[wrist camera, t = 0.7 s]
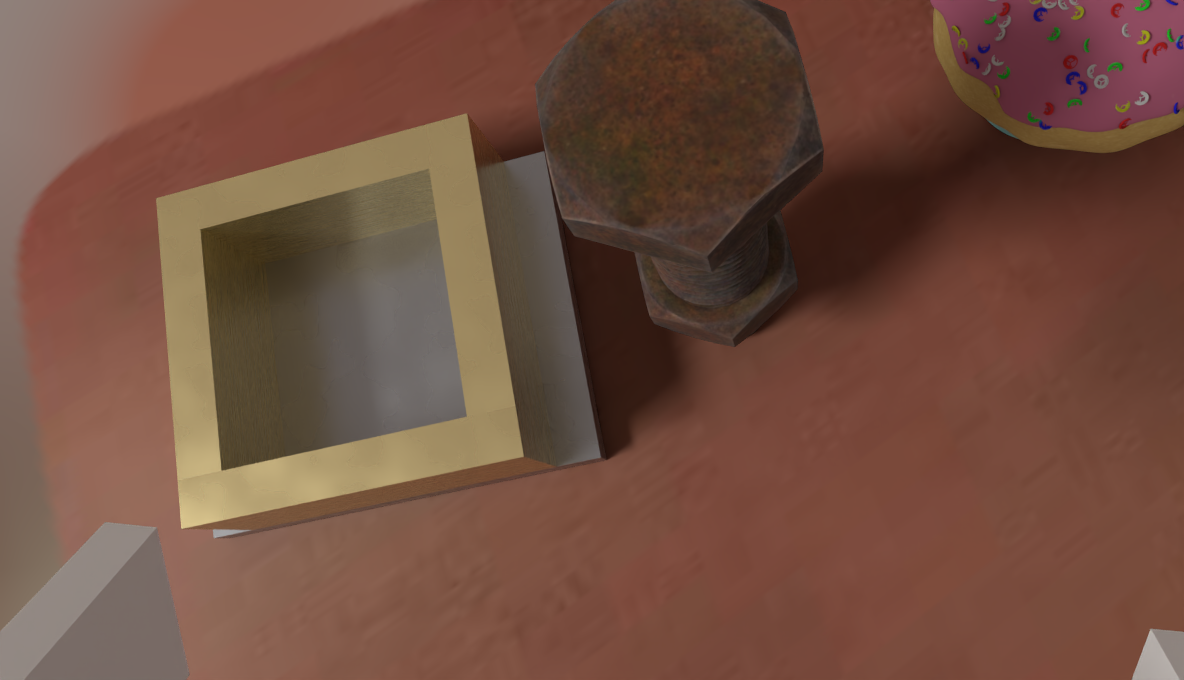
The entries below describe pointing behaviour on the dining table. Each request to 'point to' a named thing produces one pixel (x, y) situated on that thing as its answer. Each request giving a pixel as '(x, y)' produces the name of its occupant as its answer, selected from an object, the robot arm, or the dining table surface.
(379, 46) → the dining table surface
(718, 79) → the bolt
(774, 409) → the dining table surface
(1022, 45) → the cupcake
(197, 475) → the mount
